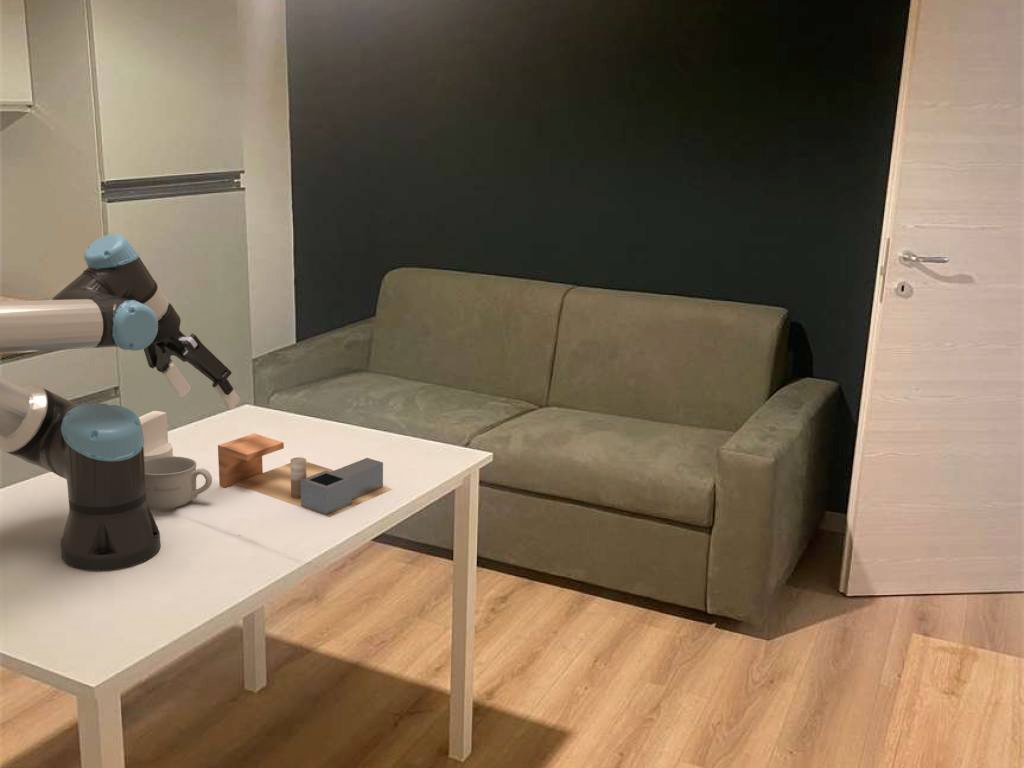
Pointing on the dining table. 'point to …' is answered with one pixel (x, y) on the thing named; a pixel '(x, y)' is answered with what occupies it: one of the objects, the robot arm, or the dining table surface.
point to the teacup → (172, 482)
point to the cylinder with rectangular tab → (155, 435)
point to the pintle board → (283, 483)
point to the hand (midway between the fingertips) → (209, 398)
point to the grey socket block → (341, 486)
